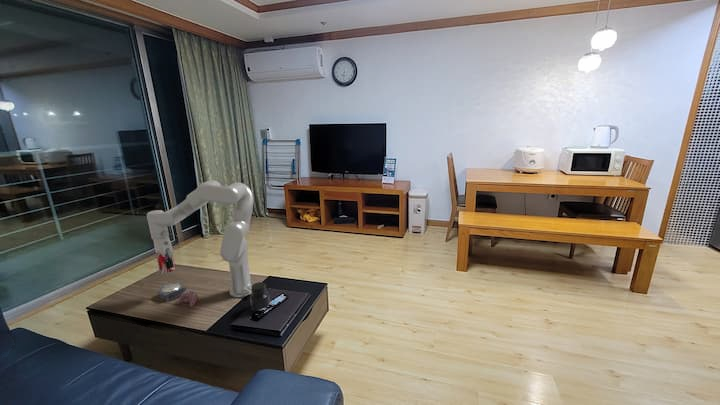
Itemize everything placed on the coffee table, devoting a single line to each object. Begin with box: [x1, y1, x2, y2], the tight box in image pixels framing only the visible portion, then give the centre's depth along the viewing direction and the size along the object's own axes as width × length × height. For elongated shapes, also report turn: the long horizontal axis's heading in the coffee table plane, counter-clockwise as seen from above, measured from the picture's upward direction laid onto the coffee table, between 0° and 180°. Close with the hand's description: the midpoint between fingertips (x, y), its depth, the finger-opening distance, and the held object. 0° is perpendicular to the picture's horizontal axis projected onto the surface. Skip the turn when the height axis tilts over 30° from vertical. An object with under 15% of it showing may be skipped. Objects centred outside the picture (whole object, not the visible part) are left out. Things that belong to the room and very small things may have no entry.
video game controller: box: [176, 290, 199, 308], centre depth 154 cm, size 10×5×7 cm, turn 71°
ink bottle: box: [249, 281, 271, 312], centre depth 148 cm, size 10×9×12 cm
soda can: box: [156, 252, 176, 275], centre depth 157 cm, size 7×7×12 cm
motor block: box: [156, 281, 187, 303], centre depth 163 cm, size 15×10×4 cm
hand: (166, 265), depth 158 cm, fingers closed on soda can, 7 cm apart
